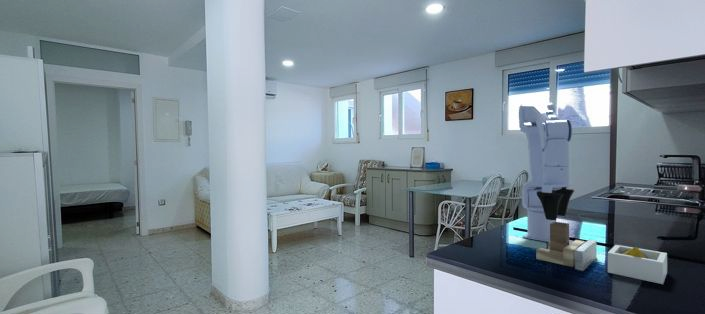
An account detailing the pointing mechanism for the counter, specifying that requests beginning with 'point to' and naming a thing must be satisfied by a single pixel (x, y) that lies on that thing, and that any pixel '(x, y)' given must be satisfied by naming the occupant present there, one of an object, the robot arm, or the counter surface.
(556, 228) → the peg
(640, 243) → the counter surface
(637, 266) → the holder
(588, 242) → the rail
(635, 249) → the yellow tapered piece
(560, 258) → the cradle
